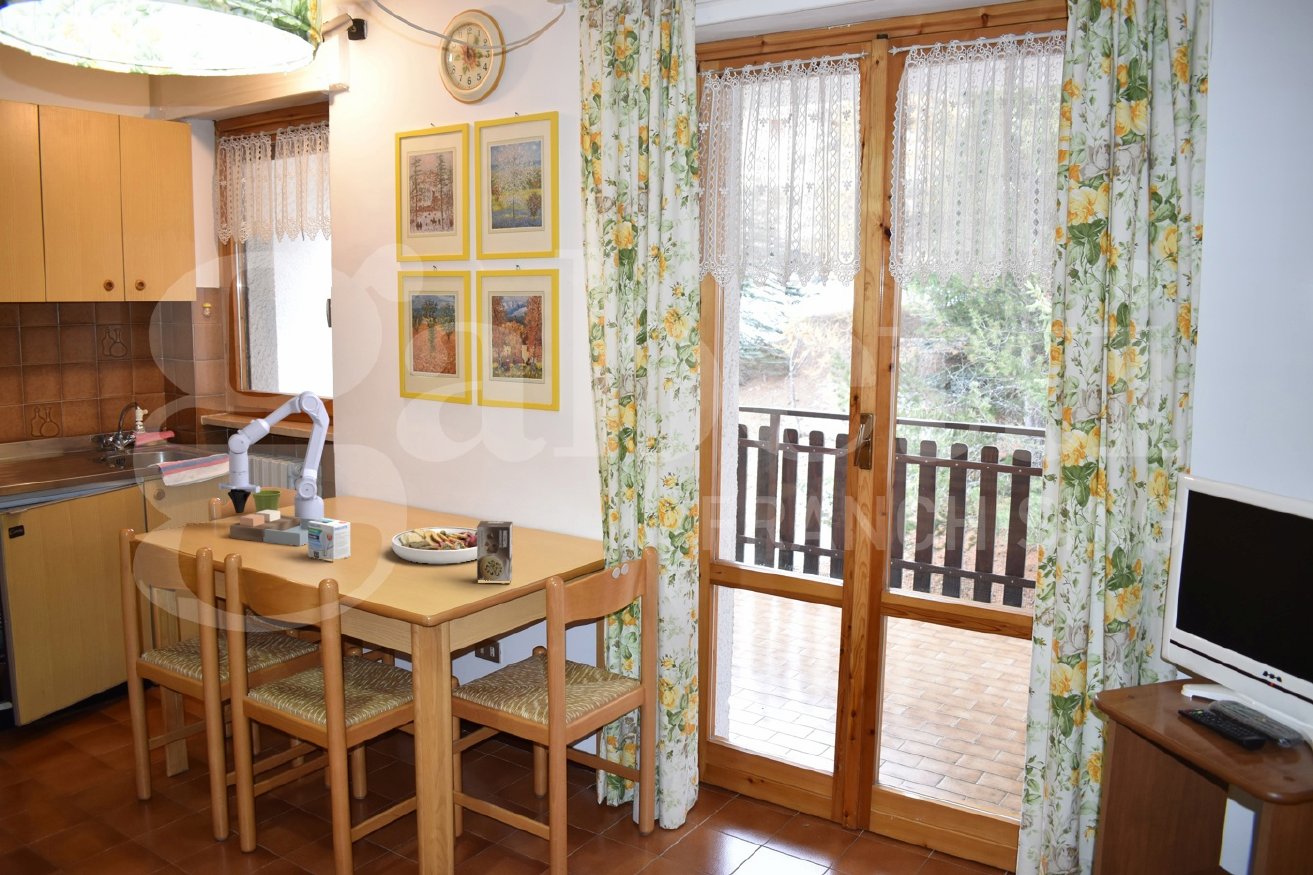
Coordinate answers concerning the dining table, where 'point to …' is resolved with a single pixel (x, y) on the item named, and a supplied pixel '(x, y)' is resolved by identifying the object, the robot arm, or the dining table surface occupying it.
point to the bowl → (436, 545)
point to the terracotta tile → (252, 520)
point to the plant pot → (266, 500)
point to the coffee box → (494, 551)
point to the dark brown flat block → (262, 528)
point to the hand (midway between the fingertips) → (239, 512)
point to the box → (289, 534)
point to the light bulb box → (328, 539)
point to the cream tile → (269, 515)
